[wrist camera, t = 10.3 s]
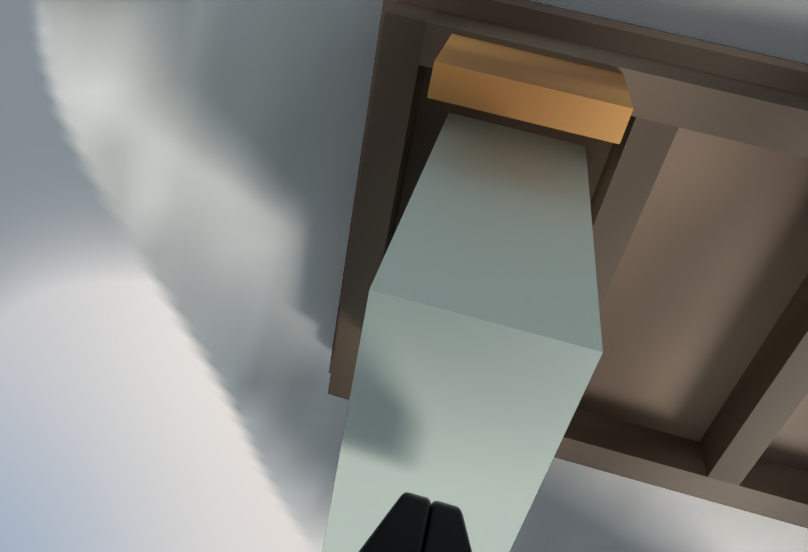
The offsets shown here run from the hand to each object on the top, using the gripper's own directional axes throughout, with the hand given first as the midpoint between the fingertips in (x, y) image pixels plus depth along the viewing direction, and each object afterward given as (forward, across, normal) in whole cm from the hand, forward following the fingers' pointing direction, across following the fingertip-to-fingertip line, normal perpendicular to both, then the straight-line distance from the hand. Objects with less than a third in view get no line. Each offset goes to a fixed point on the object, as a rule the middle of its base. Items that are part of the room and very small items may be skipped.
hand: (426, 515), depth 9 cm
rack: (+9, -5, 0) cm, 10 cm away
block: (+8, 0, 0) cm, 8 cm away
